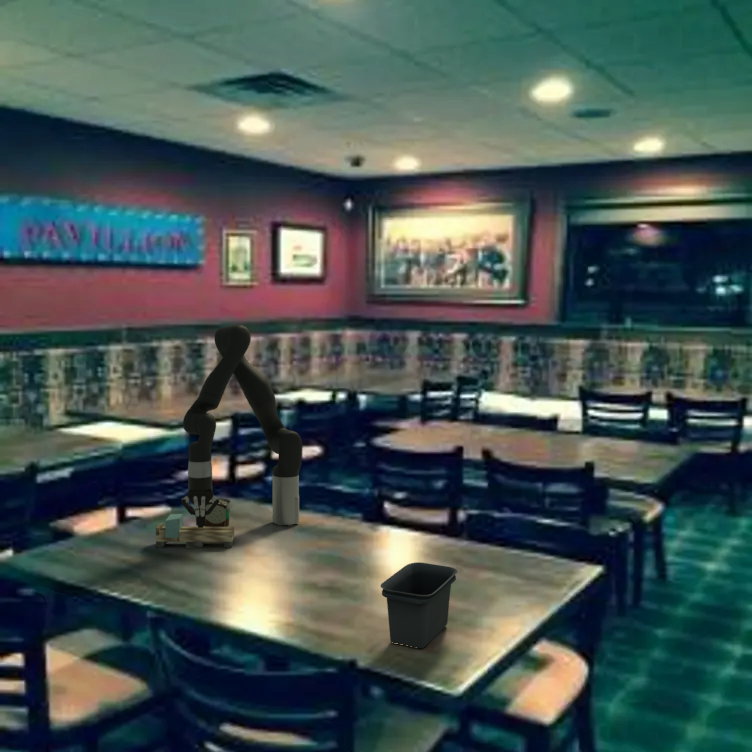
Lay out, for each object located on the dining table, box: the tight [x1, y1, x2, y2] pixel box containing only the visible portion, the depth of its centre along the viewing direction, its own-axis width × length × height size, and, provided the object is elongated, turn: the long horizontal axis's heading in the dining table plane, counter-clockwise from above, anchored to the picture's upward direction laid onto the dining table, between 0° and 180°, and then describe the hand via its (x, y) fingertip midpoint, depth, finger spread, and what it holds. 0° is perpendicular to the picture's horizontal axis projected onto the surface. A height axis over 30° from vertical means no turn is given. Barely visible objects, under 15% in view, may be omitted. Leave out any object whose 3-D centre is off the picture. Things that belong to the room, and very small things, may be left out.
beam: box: [155, 522, 235, 549], centre depth 273 cm, size 24×6×6 cm, turn 92°
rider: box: [164, 513, 184, 538], centre depth 273 cm, size 4×9×5 cm, turn 2°
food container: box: [204, 497, 233, 527], centre depth 293 cm, size 12×6×10 cm, turn 58°
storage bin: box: [380, 562, 459, 649], centre depth 204 cm, size 21×16×14 cm
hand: (200, 527), depth 273 cm, fingers closed
